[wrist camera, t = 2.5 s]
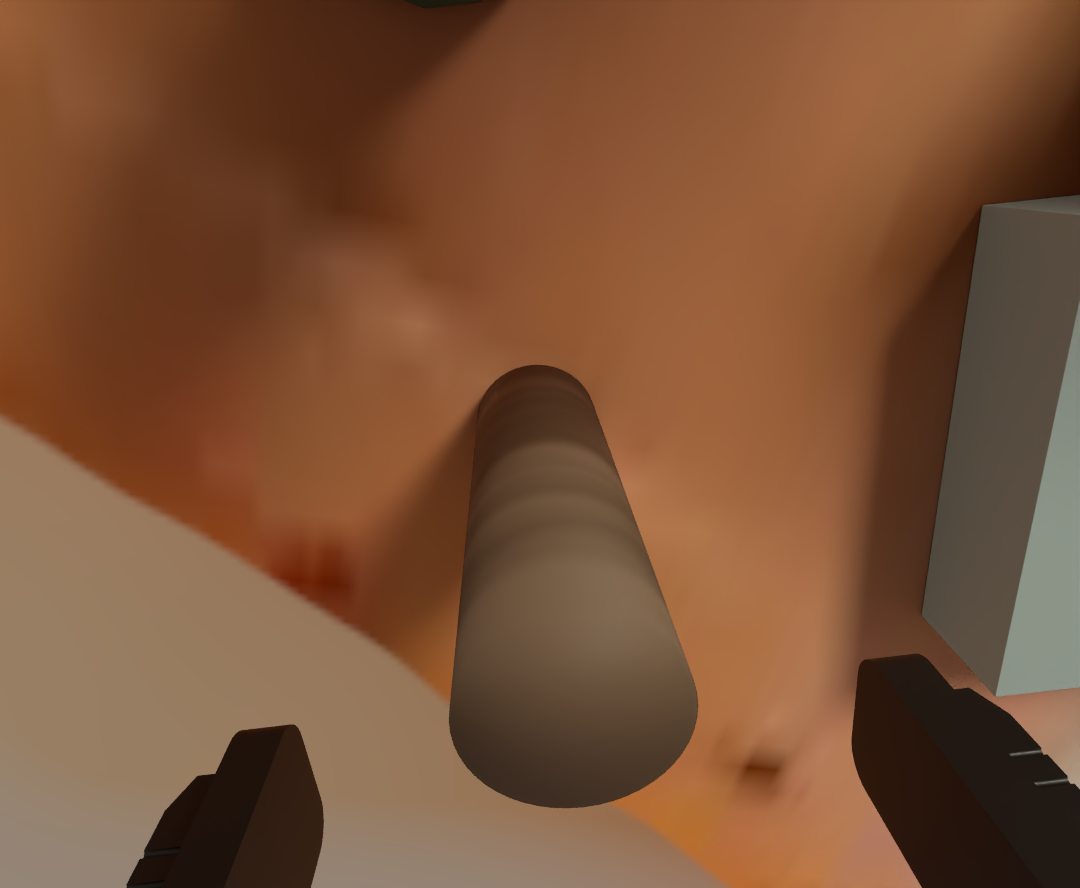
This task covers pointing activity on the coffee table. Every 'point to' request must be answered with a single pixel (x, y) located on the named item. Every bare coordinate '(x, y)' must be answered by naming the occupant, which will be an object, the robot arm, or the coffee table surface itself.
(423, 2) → the character mug
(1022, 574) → the socket
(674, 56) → the coffee table surface
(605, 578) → the peg
